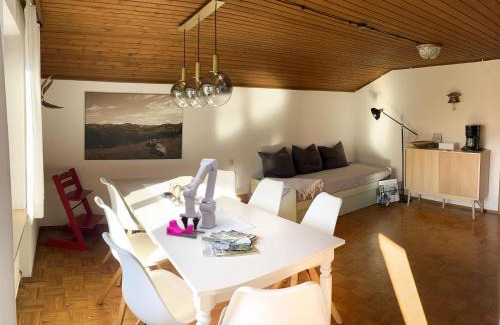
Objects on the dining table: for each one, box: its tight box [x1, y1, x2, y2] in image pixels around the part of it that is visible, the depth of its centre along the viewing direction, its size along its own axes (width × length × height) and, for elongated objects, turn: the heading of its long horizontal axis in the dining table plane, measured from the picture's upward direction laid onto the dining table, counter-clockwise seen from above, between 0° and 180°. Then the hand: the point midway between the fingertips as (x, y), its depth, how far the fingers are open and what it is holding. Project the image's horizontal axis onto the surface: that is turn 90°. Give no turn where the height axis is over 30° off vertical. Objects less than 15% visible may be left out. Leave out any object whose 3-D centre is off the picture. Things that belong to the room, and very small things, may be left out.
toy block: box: [166, 219, 194, 238], centre depth 235 cm, size 15×6×8 cm, turn 65°
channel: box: [181, 229, 206, 240], centre depth 236 cm, size 11×18×2 cm, turn 68°
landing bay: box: [201, 231, 232, 243], centre depth 228 cm, size 13×19×2 cm, turn 68°
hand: (190, 229), depth 237 cm, fingers open, 6 cm apart
